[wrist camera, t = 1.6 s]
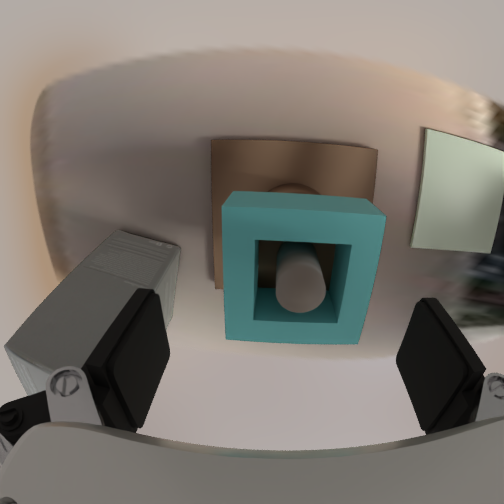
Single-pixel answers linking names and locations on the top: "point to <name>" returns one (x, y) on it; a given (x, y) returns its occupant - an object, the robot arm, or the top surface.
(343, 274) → the ring
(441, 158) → the mat
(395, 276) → the top surface
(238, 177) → the stand
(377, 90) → the top surface
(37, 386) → the skincare box
